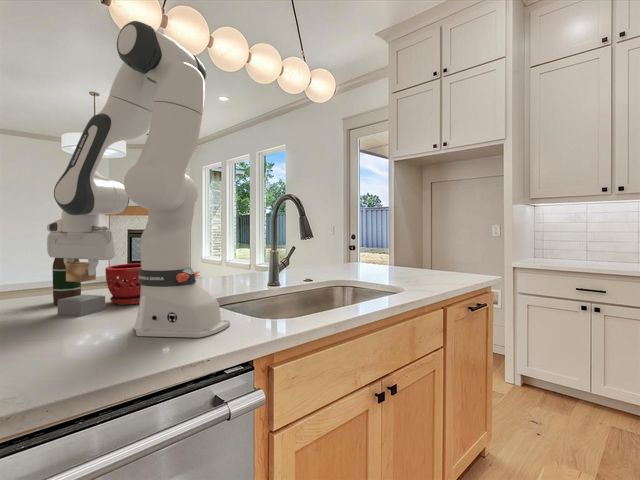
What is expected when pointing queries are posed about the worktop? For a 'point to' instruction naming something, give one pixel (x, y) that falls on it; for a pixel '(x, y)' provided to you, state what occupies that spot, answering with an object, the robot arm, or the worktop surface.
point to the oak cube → (78, 272)
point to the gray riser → (81, 305)
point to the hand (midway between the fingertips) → (81, 274)
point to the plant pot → (124, 283)
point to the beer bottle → (63, 282)
